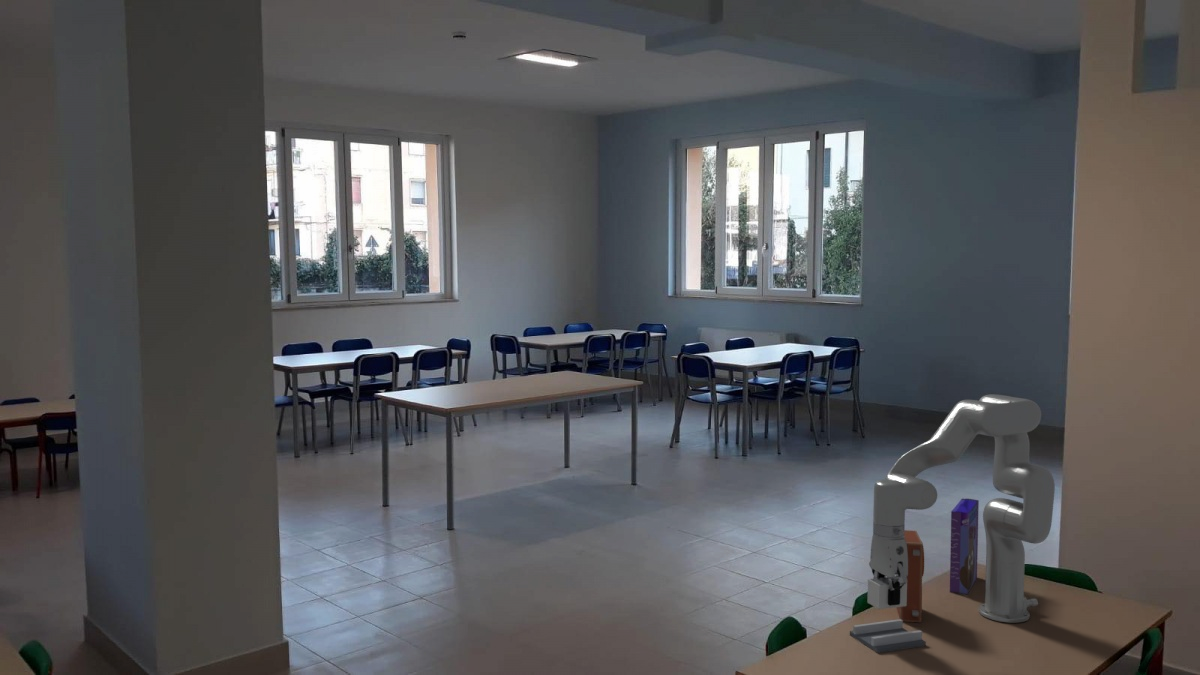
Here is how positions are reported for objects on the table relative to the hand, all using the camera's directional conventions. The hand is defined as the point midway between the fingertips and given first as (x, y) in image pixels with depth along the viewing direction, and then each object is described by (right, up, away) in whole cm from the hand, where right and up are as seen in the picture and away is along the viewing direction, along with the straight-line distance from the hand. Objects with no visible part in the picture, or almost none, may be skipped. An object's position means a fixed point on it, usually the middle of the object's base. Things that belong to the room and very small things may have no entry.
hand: (887, 600), depth 235 cm
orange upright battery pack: (+11, -9, +19) cm, 24 cm away
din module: (0, -1, 0) cm, 1 cm away
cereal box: (+36, -7, +42) cm, 55 cm away
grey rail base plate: (0, -10, +1) cm, 10 cm away
